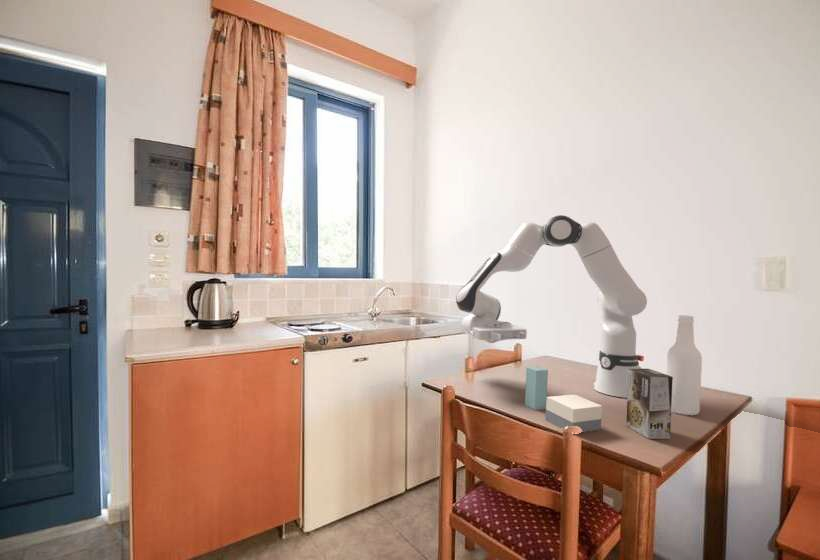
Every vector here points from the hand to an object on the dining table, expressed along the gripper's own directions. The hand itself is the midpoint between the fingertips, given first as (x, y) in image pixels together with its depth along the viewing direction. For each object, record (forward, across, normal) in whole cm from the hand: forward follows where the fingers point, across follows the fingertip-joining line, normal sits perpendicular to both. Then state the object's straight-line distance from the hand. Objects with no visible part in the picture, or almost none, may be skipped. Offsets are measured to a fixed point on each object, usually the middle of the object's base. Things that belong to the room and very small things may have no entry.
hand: (513, 337), depth 130 cm
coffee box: (+37, +16, +20) cm, 45 cm away
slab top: (+27, 0, +17) cm, 32 cm away
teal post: (+12, 0, +20) cm, 23 cm away
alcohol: (+29, +43, +20) cm, 56 cm away
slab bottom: (+27, 0, +20) cm, 34 cm away
